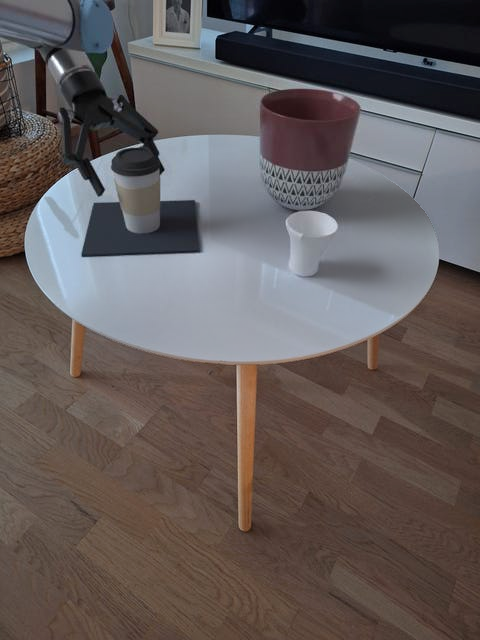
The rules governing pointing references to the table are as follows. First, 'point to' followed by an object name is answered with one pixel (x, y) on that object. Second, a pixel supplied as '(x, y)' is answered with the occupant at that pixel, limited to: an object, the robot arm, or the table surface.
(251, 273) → the table surface
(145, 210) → the coffee cup
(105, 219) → the mat
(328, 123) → the planter
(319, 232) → the cup
